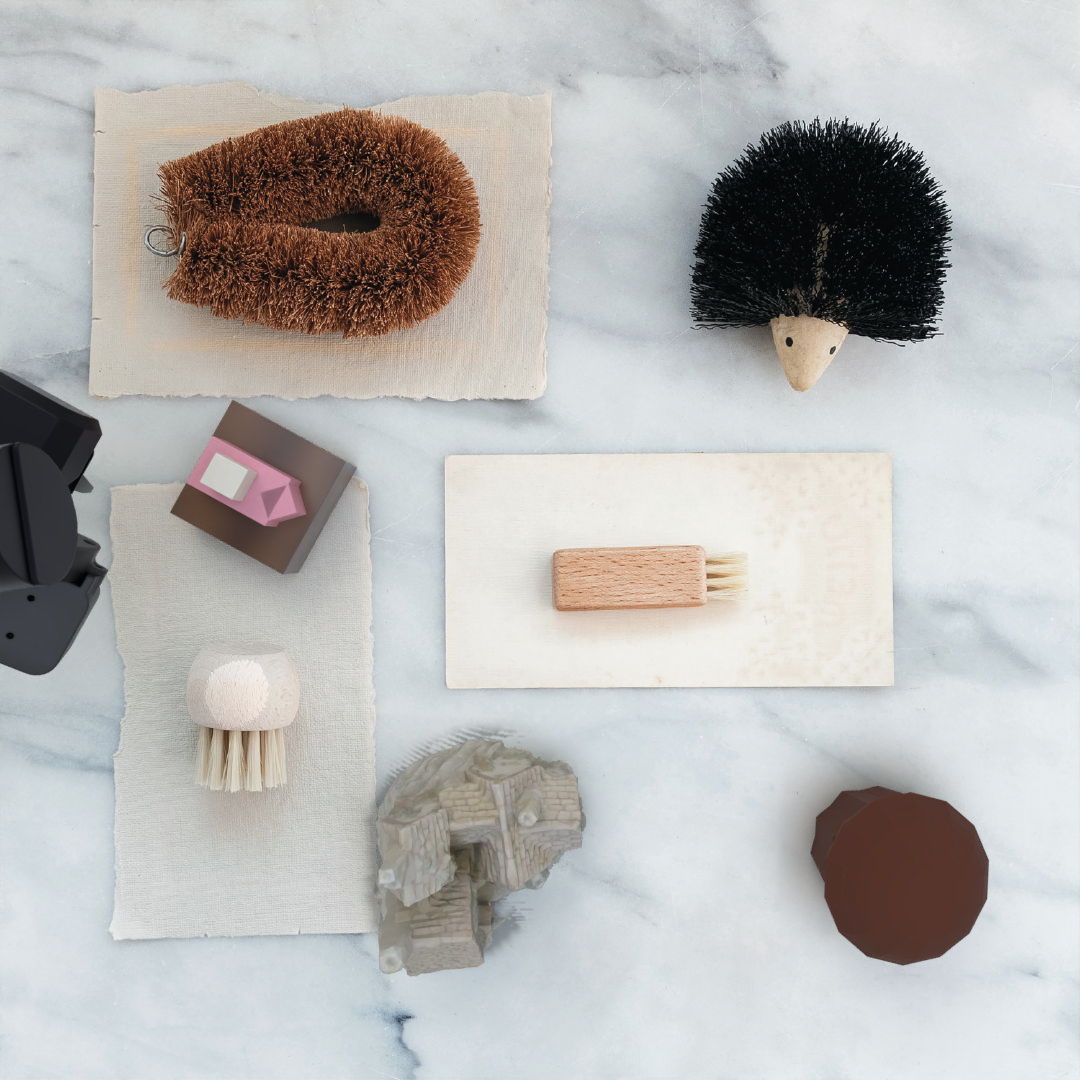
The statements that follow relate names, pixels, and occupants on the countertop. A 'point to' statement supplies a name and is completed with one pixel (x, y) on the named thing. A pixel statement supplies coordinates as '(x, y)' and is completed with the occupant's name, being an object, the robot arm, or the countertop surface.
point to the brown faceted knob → (900, 873)
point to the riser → (292, 456)
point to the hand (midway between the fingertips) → (48, 552)
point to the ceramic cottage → (466, 849)
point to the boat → (247, 484)
